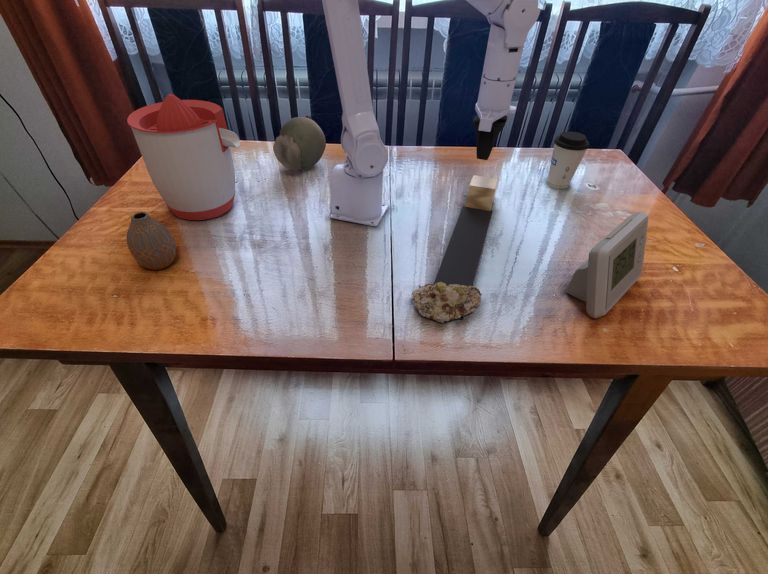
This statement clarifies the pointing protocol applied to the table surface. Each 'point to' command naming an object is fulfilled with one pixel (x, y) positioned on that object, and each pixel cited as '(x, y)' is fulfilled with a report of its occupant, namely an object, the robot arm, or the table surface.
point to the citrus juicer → (188, 155)
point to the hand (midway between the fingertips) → (482, 158)
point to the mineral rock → (446, 301)
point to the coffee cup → (566, 158)
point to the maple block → (481, 192)
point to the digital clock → (611, 266)
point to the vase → (150, 242)
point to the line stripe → (464, 248)
